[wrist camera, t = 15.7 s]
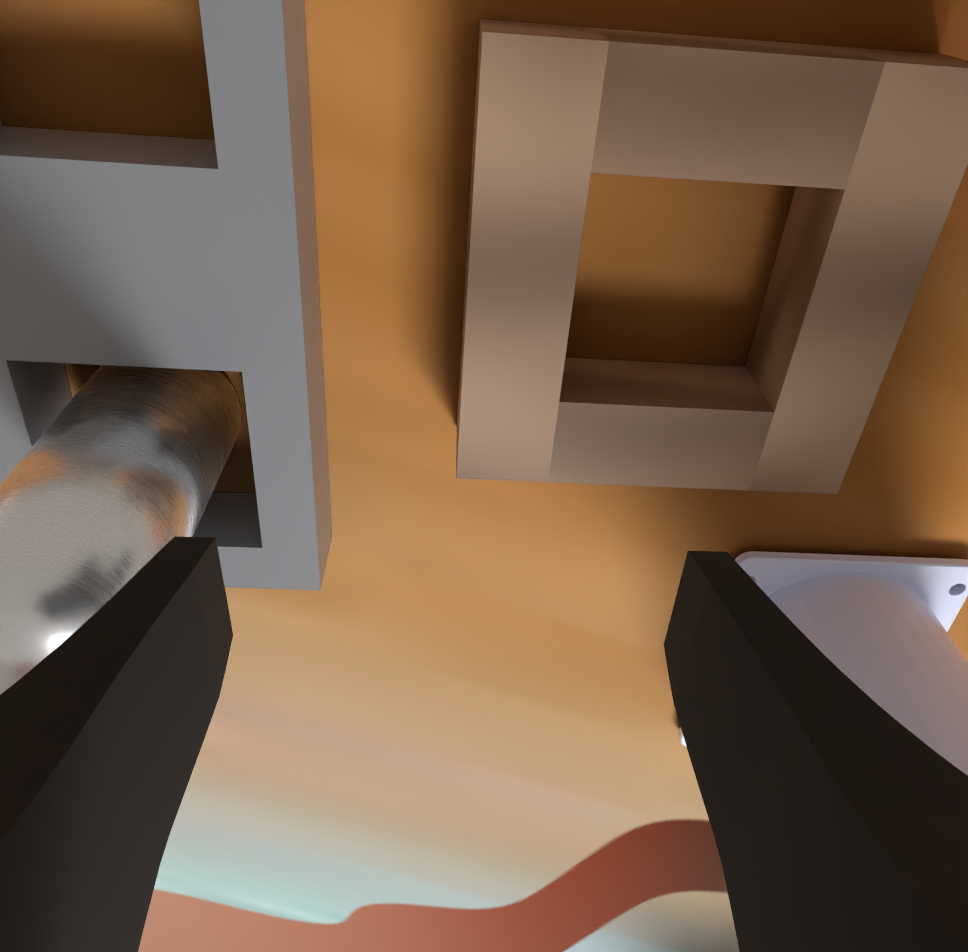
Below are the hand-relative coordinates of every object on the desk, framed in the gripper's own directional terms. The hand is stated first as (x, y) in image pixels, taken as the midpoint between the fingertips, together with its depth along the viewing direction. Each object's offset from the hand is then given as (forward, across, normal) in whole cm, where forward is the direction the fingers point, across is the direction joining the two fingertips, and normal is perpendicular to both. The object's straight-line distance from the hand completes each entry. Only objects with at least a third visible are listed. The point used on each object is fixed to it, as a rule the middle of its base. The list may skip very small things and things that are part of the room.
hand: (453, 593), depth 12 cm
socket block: (+10, -5, -2) cm, 12 cm away
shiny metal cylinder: (+10, +8, +3) cm, 13 cm away
